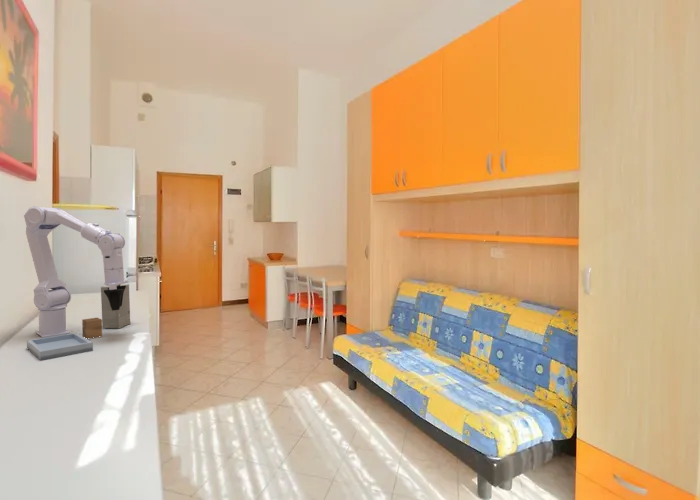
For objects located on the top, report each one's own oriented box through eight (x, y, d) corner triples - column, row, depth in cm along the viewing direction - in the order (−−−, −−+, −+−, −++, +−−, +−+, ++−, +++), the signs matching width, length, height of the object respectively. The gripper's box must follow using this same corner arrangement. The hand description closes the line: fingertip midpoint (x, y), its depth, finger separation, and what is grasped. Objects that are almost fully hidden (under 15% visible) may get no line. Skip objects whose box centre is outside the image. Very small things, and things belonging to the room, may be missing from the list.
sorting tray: (26, 348, 123) (26, 340, 123) (76, 340, 133) (76, 332, 133) (40, 360, 113) (40, 351, 113) (92, 350, 123) (92, 342, 123)
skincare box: (118, 329, 148) (118, 286, 147) (99, 328, 148) (99, 286, 148) (131, 323, 157) (131, 283, 156) (113, 323, 157) (113, 283, 156)
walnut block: (82, 336, 137) (82, 319, 137) (97, 334, 141) (97, 317, 141) (86, 339, 135) (86, 321, 134) (101, 336, 138) (101, 319, 138)
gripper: (125, 269, 132) (128, 310, 133) (128, 266, 145) (131, 303, 146) (100, 271, 129) (103, 312, 130) (106, 268, 142) (109, 306, 143)
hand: (117, 308), depth 138 cm, fingers open, 7 cm apart
